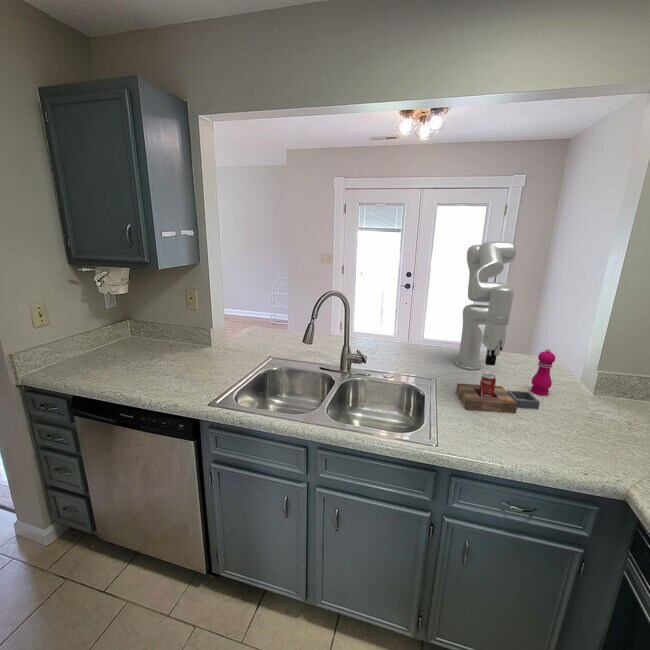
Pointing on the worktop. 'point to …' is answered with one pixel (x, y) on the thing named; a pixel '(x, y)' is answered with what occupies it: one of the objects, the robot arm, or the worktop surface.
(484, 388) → the soda can
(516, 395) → the holster
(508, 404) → the block
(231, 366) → the worktop surface
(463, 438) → the worktop surface
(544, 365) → the pepper mill
